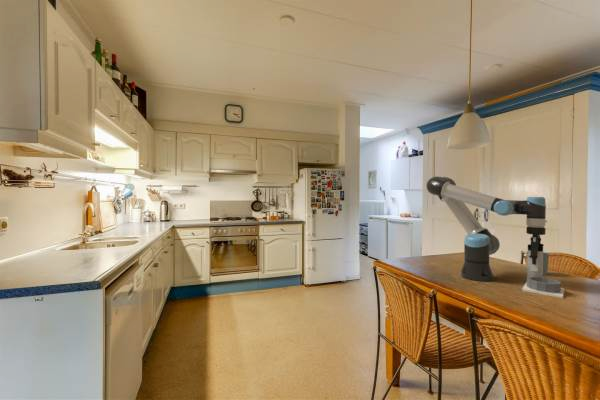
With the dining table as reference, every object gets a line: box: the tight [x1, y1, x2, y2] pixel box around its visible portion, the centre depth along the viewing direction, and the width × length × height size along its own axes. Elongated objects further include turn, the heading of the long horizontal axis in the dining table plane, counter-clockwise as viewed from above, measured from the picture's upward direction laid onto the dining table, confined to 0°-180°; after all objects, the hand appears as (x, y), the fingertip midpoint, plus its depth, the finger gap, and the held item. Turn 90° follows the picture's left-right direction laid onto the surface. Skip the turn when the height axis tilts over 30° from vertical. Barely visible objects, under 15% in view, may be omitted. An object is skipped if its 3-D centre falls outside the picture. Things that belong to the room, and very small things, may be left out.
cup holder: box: [521, 276, 565, 299], centre depth 132 cm, size 14×14×5 cm
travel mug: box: [526, 243, 545, 278], centre depth 145 cm, size 6×7×20 cm
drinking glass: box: [525, 251, 550, 276], centre depth 162 cm, size 10×10×12 cm
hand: (535, 268), depth 145 cm, fingers open, 11 cm apart
